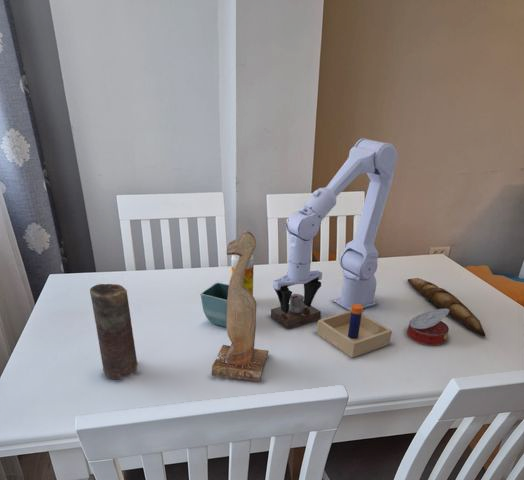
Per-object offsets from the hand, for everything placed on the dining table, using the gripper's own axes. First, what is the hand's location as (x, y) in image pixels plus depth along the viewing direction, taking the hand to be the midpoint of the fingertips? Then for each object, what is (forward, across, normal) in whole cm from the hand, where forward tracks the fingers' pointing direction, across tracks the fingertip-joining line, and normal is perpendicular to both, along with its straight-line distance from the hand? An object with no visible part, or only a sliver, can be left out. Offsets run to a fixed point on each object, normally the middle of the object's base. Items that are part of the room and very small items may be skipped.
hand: (296, 308), depth 128 cm
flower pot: (+3, +18, -8) cm, 20 cm away
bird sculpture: (+3, +25, +13) cm, 28 cm away
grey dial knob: (+1, 0, 0) cm, 1 cm away
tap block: (+3, 0, 0) cm, 3 cm away
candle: (+3, +49, +1) cm, 49 cm away
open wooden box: (+3, -6, +16) cm, 18 cm away
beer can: (+3, +8, -15) cm, 17 cm away
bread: (+3, -41, +16) cm, 44 cm away
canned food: (+3, -24, +25) cm, 35 cm away
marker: (+2, -6, +16) cm, 18 cm away
